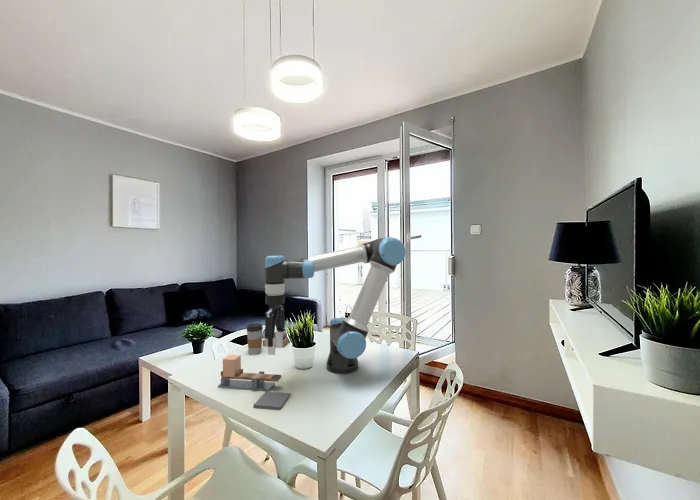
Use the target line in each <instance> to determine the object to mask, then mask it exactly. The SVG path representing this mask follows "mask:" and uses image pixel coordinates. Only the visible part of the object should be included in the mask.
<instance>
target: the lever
mask: <svg viewBox="0 0 700 500" xmlns="http://www.w3.org/2000/svg"><path fill="white" fill-rule="evenodd" d="M220 376H221V377H220V379H221V378H226V379H232V380H246V381H252V378H257V381H264V382H275V383H277V382H279V380H280V379H281V378H282V374H273V373H264V374H262V373H260V374H259V373H255V372H254V373H253V372H244V369H243V368H241V370H239V371H238V372H237V373H236V376H235V377H224V376H223V370H221V371H220Z"/></svg>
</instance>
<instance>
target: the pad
mask: <svg viewBox="0 0 700 500" xmlns="http://www.w3.org/2000/svg"><path fill="white" fill-rule="evenodd" d="M291 396H292V395H291V392H283V391H282V392H280V391H279V392H278V391H264V392H263V394H262V395H261V396H260V397H259V398H258V399H257V401H256V402H254V403H253V408H254V409H261V410H262V409H265V410H276V411H277V410H278V411H281V410H282V408H283V407H284V406H285V404H287V402H288V400H289V399H290V397H291Z"/></svg>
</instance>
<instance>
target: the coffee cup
mask: <svg viewBox="0 0 700 500" xmlns="http://www.w3.org/2000/svg"><path fill="white" fill-rule="evenodd" d="M263 327H264V326H263V324H262V323H258V322H257V323H250V324H247V327H246V335H247V339H246V340H247V347H248V348H247V349H248V354H249V355H250V356H255V355H260V354H261V352H262V347H263V329H264V328H263Z"/></svg>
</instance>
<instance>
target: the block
mask: <svg viewBox="0 0 700 500" xmlns="http://www.w3.org/2000/svg"><path fill="white" fill-rule="evenodd" d="M241 357H242V356H241V354H229V355H226V356H225V357H224V358H223V359H222V371H223V376H224V377H235V376H236V373H237V372H238V371H239V370H241V369H242V365H241V364H242V361H241V360H242V358H241Z"/></svg>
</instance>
